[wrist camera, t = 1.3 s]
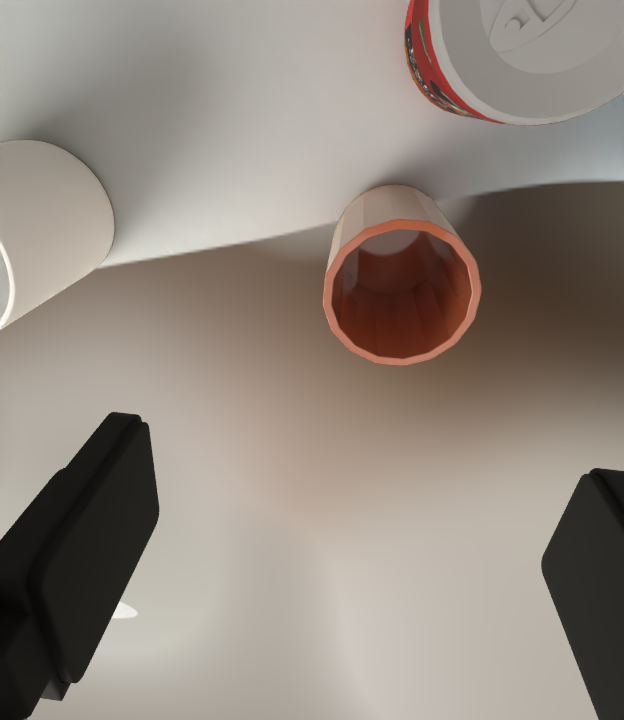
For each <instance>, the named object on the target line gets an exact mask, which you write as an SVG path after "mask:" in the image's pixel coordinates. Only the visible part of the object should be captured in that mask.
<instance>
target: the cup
mask: <svg viewBox="0 0 624 720" xmlns="http://www.w3.org/2000/svg"><path fill="white" fill-rule="evenodd" d="M114 229H115V226H114V215H113V210H112V207H111V204H110V201H109V198H108V196H107V194H106V192H105V190H104V188H103V186H102V185H101V183H100V182H99V180H98V179H97V177H96V176H95V175H94V174H93V172H92V171H91V170H90V169H89V168H88V167H87V166H86V165H85V164H84V163H83V162H81V161H80V160H79V159H78V158H76V157H75V156H73V155H72V154H70V153H69V152H67V151H65V150H63V149H62V148H60V147H57V146H55V145H52V144H49V143H46V142H41V141H33V140H15V141H6V142H0V330H1V329H2V328H4V327H5V326H7V325H9V324H10V323H12V322H13V321H15V320H16V319H18V318H20V317H21V316H23V315H24V314H26V313H27V312H29V311H30V310H32V309H34V308H35V307H37V306H38V305H40V304H42V303H43V302H45V301H46V300H48V299H49V298H51V297H53V296H54V295H56V294H57V293H59V292H60V291H62V290H64V289H65V288H67V287H68V286H70V285H71V284H73V283H74V282H76V281H78V280H79V279H81V278H82V277H84V276H85V275H87V274H88V273H90V272H91V271H92V270H94V269H95V268H96V267H98V266H99V265H100V264H101V263H102V261H103V260H104V259H105V258H106V256H107V255H108V253H109V251H110V248H111V246H112V242H113V238H114Z"/></svg>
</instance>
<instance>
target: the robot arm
mask: <svg viewBox="0 0 624 720" xmlns="http://www.w3.org/2000/svg"><path fill="white" fill-rule="evenodd" d="M158 517H159V502H158V495H157V487H156V479H155V471H154V463H153V456H152V448H151V439H150V432H149V426H148V424H147V423H146V422H142V420H141V417H140V416H139V415H136V414H127V413H118V412H112V413H110V414H109V415H108V416H107V417H106V418H105V419H104V421H103V422H102V423H101V424H100V426H99V427H98V428H97V429H96V431H95V432H94V433H93V434H92V435H91V437H90V438H89V439H88V440H87V442H86V443H85V444H84V445H83V447H82V448H81V449H80V450H79V452H78V453H77V454H76V455H75V457H74V458H73V459H72V460H71V462H70V463H69V464H68V465H67V466H66V468H63V469H61V470H59V471H58V472H57V473H56V474H55V475H54V476H53V477H52V478H51V479H50V480H49V482H48V483H47V484H46V486H45V487H44V488H43V489H42V490H41V491H40V493H39V494H38V495H37V497H36V498H35V499H34V500H33V501H32V502H31V504H30V505H29V506H28V507H27V509H26V510H25V511H24V512H23V513H22V515H21V516H20V517H19V518H18V520H17V521H16V522H15V523H14V525H13V526H12V527H11V528H10V529H9V531H8V532H7V533H6V534H5V535H4V536H3V538H2V539H1V540H0V720H27V718H28V717H29V716H30V715H31V714H32V712H33V710H34V708H35V706H36V705H37V703H38V701H39V699H40V698H44V699H51V700H58V701H62V699H63V698H64V696H65V694H66V692H67V690H68V688H69V686H70V684H71V683H77V682H79V681H80V679H81V678H82V677H83V675H84V673H85V671H86V669H87V667H88V665H89V663H90V660H91V659H92V657H93V655H94V652H95V650H96V648H97V646H98V644H99V642H100V640H101V638H102V636H103V634H104V632H105V630H106V628H107V626H108V624H109V622H110V619H111V617H112V615H113V613H114V611H115V609H116V607H117V605H118V603H119V601H120V599H121V596H122V595H123V593H124V590H125V588H126V586H127V584H128V582H129V580H130V578H131V576H132V574H133V572H134V570H135V568H136V566H137V564H138V562H139V559H140V557H141V555H142V553H143V551H144V549H145V547H146V545H147V543H148V541H149V539H150V537H151V535H152V533H153V530H154V528H155V526H156V524H157V521H158ZM541 563H542V565H541V567H542V573H543V576H544V579H545V581H546V584H547V586H548V589H549V592H550V594H551V597H552V599H553V602H554V605H555V607H556V610H557V612H558V615H559V618H560V620H561V623H562V625H563V628H564V630H565V633H566V636H567V638H568V641H569V644H570V646H571V649H572V651H573V654H574V657H575V659H576V662H577V664H578V667H579V670H580V672H581V675H582V677H583V680H584V682H585V685H586V688H587V690H588V693H589V695H590V697H591V701H592V703H593V706H594V708H595V711H596V714H597V716H598V719H599V720H624V471H618V470H608V469H600V468H595V469H593V470H591V471H590V473H589V474H584V475H582V477H581V478H580V480H579V482H578V484H577V486H576V488H575V490H574V493H573V495H572V497H571V499H570V501H569V503H568V505H567V507H566V509H565V511H564V514H563V515H562V517H561V519H560V521H559V523H558V526H557V528H556V530H555V532H554V534H553V536H552V538H551V540H550V542H549V544H548V547H547V548H546V550H545V552H544V555H543V557H542V562H541Z"/></svg>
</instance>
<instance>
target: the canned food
mask: <svg viewBox="0 0 624 720" xmlns="http://www.w3.org/2000/svg"><path fill="white" fill-rule="evenodd" d="M405 51H406V57H407V64H408V66H409V69H410V72H411V74H412V77H413V80H414V81H415V83H416V84H417V86H418V88H419V89H420V91H421V92H422V93H423V94H424V95H425V96H426V97H427V98H428V99H429V100H430V101H431V102H432V103H433V104H435V105H436V106H438V107H440V108H441V109H443V110H445V111H448V112H451V113H454V114H457V115H461V116H466V117H471V118H476V119H481V120H486V121H491V122H496V123H502V124H513V125H526V126H535V125H542V124H550V123H556V122H561V121H565V120H568V119H571V118H574V117H577V116H580V115H583V114H586V113H588V112H590V111H592V110H594V109H596V108H598V107H600V106H602V105H604V104H606V103H608V102H609V101H611V100H613V99H615V98H616V97H617V96H619V95H620V94H621V93H623V92H624V0H411V1H410V4H409V7H408V12H407V18H406V23H405Z"/></svg>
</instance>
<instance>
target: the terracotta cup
mask: <svg viewBox="0 0 624 720" xmlns="http://www.w3.org/2000/svg"><path fill="white" fill-rule="evenodd" d="M480 296H481V284H480V278H479V273H478V267H477V262H476V260H475V259H474V257H473V256H472V254H471V253H470V252H469V250H468V249H467V247H466V246H465V244H464V243H463V242H462V240H461V239H460V237H459V236H458V235H457V233H456V231H455V230H454V229H453V227H452V226H451V224H450V223H449V221H448V220H447V219H446V217H445V216H444V214H443V213H442V212H441V210H440V209H439V207H438V206H437V205H436V203H435V202H434V201H433V199H432V198H430V197H428V196H427V195H426V194H424V193H423V192H421V191H419V190H417V189H415V188H412V187H409V186H404V185H384V186H380V187H376V188H373V189H371V190H368V191H366V192H365V193H363V194H361V195H360V196H359V197H357V198H356V199H355V200H354V201H353V202H352V203H351V204H350V205H349V206H348V207H347V208H346V210H345V211H344V213H343V214H342V216H341V218H340V220H339V222H338V225H337V227H336V229H335V232H334V237H333V242H332V246H331V251H330V256H329V261H328V265H327V270H326V275H325V283H324V296H323V307H324V310H325V313H326V316H327V318H328V321H329V324H330V327H331V330H332V331H333V332H334V334H335V335H336V336H337V337H338V338H339V339H340V340H341V341H342V342H343V344H344V345H345V346H346V347H347V348H348V349H349V350H351V351H352V352H354V353H356V354H358V355H360V356H362V357H364V358H366V359H368V360H370V361H372V362H374V363H382V364H391V365H402V366H403V365H404V366H405V365H409V364H413V363H417V362H421V361H426V360H429V359H431V358H434V357H436V356H437V355H439V354H440V353H442V352H443V351H445V350H447V349H448V348H450V347H451V346H453V345H454V344H456V343H457V342H458V341H459V339H460V338H461V337H462V335H463V334H464V333H465V331H466V330H467V329H468V327H469V326H470V325H471V323H472V322H473V320H474V319H475V315H476V311H477V307H478V304H479V300H480Z"/></svg>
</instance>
